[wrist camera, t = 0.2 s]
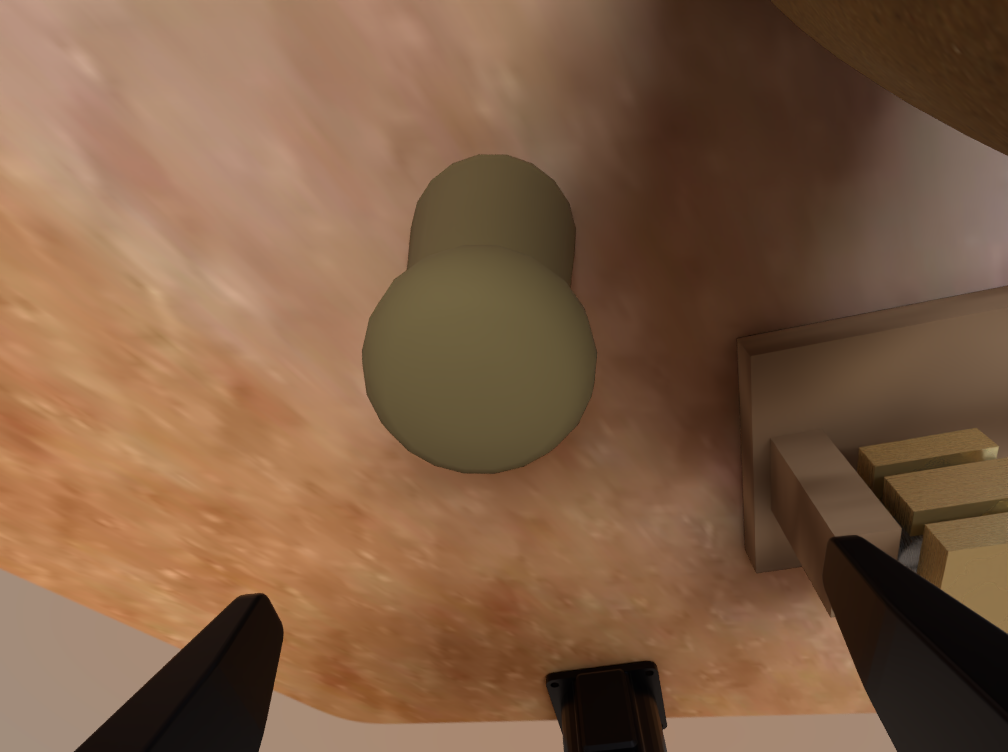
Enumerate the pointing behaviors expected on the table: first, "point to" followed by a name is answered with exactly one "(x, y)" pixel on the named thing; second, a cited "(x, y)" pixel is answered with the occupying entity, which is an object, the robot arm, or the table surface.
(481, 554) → the table surface
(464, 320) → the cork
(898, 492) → the nut
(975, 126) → the plant pot
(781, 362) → the jig
